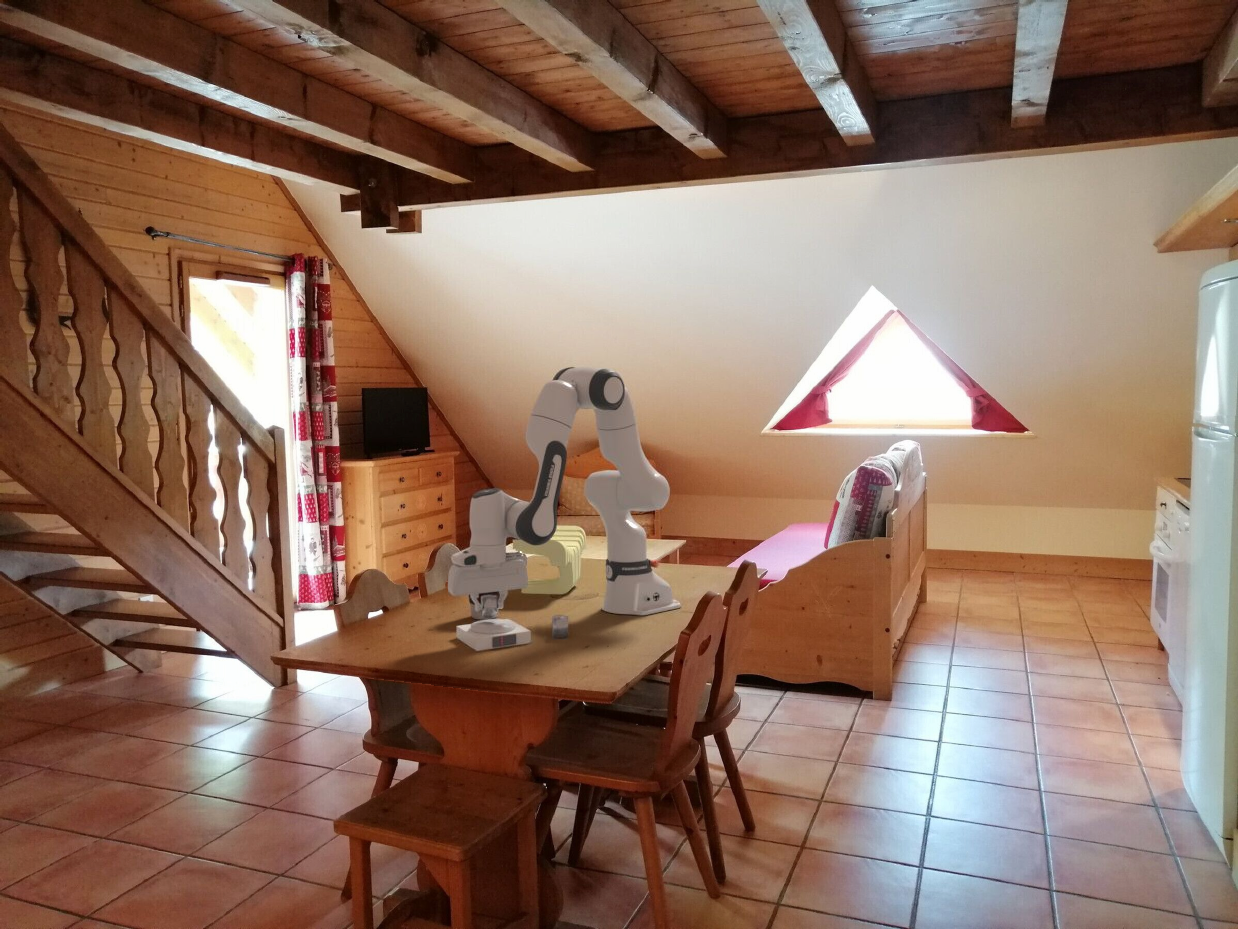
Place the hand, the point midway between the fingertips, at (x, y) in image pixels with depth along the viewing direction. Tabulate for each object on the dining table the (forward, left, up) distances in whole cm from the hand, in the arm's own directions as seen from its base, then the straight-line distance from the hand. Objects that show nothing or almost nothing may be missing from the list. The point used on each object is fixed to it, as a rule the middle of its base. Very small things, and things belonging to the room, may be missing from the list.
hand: (489, 609), depth 236 cm
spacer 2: (-16, +7, -7) cm, 19 cm away
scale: (0, +2, -7) cm, 8 cm away
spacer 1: (0, 0, -2) cm, 2 cm away
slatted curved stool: (-38, -45, -8) cm, 59 cm away
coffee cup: (-7, -22, -8) cm, 24 cm away
